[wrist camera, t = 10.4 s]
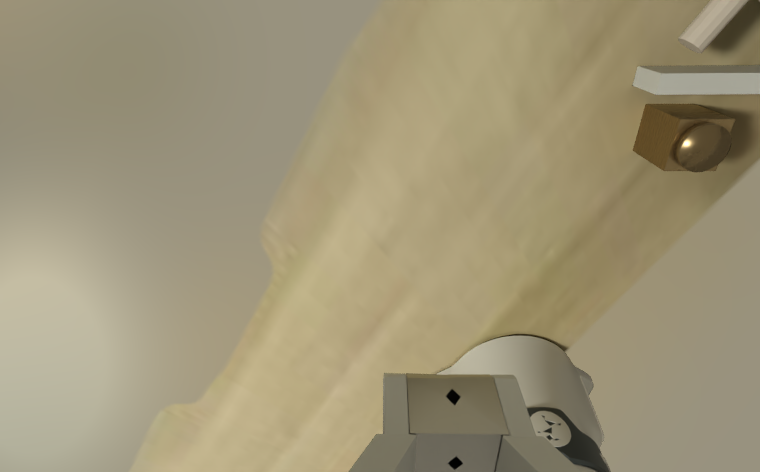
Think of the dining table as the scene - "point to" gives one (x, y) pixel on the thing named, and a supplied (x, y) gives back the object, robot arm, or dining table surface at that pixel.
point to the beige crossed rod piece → (710, 23)
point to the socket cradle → (698, 79)
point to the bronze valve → (683, 137)
